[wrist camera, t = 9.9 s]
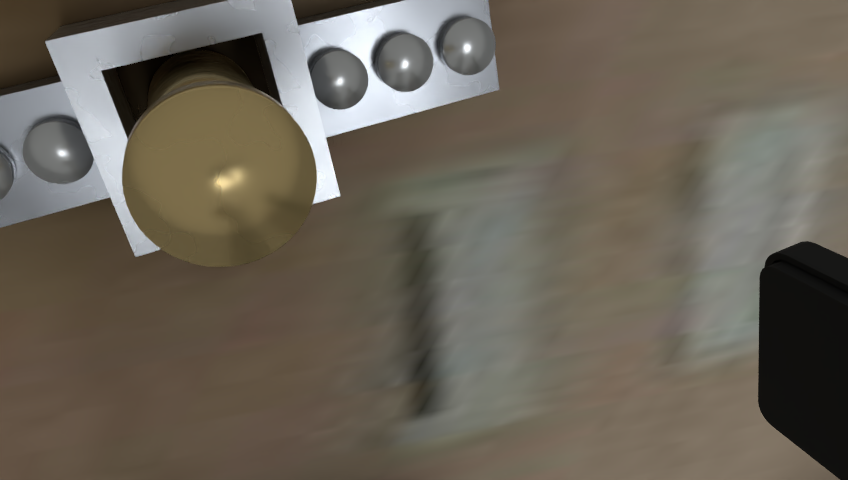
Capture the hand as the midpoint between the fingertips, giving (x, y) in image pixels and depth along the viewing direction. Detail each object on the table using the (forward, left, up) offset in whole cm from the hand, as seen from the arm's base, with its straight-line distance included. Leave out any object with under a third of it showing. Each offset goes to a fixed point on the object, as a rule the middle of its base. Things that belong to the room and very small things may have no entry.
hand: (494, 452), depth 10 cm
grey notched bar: (-1, +2, -21) cm, 21 cm away
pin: (-1, +2, -21) cm, 21 cm away
